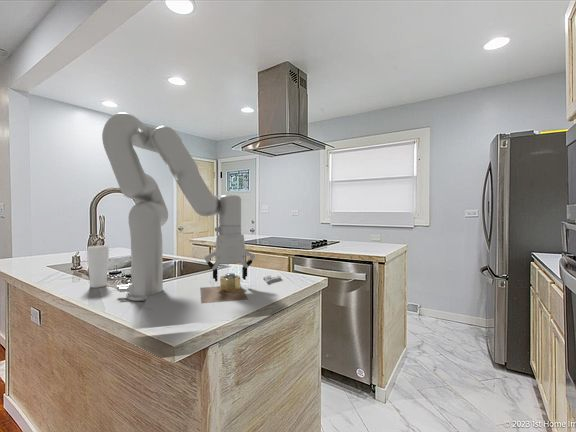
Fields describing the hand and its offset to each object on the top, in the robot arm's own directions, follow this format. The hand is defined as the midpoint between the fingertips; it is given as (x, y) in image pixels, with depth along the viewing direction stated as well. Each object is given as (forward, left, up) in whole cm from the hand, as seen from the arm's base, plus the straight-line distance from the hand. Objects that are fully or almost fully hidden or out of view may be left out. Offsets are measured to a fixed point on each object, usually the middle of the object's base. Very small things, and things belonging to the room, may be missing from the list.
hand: (230, 279), depth 106 cm
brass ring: (0, 0, -3) cm, 3 cm away
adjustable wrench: (+13, +8, -5) cm, 16 cm away
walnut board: (-3, -5, -5) cm, 7 cm away
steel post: (0, 0, -3) cm, 3 cm away
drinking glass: (-46, +22, -5) cm, 52 cm away
